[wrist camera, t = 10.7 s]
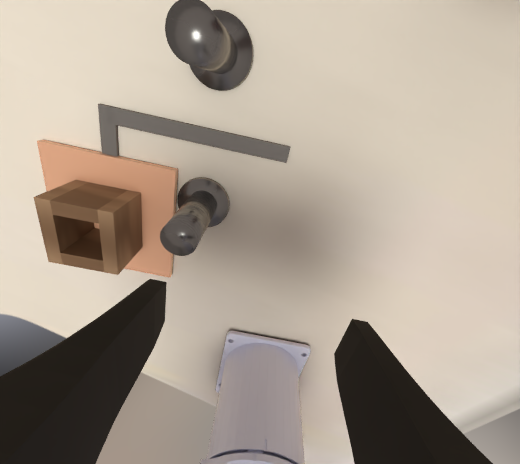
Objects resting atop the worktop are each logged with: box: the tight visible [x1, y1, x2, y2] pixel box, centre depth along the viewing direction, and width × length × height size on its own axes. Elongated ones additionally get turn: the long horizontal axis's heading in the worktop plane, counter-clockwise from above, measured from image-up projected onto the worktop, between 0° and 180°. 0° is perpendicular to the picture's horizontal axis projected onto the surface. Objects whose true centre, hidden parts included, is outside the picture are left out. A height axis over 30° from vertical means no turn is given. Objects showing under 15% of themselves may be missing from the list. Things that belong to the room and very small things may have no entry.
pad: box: [37, 140, 178, 277], centre depth 19 cm, size 9×9×1 cm
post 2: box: [160, 177, 229, 256], centre depth 16 cm, size 4×4×6 cm
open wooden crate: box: [34, 180, 143, 275], centre depth 18 cm, size 4×4×4 cm
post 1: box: [165, 0, 253, 90], centre depth 12 cm, size 4×4×6 cm
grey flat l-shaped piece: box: [98, 104, 290, 163], centre depth 17 cm, size 4×12×1 cm, turn 78°
